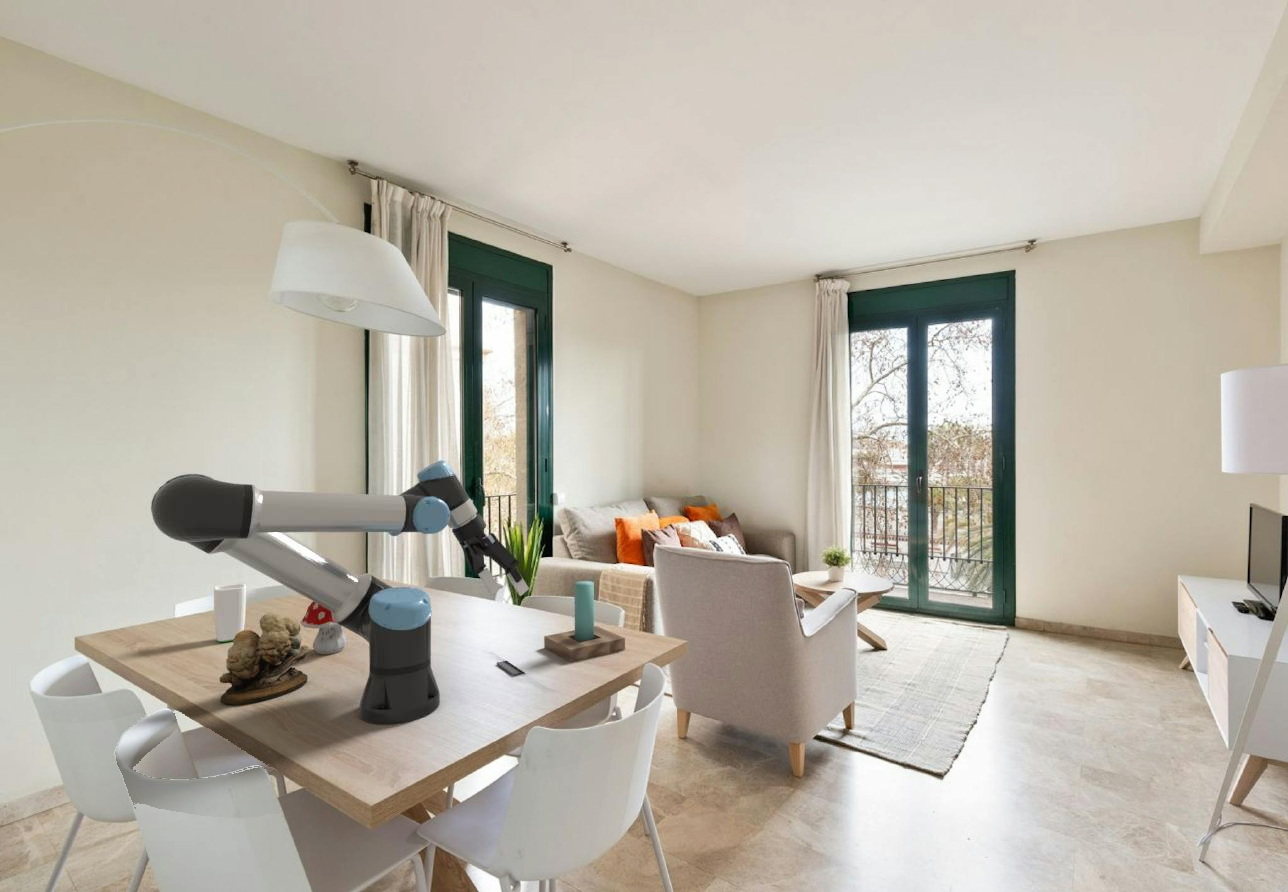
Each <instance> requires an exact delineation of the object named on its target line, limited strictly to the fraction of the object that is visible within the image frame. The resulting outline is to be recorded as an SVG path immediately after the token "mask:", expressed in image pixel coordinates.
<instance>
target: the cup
mask: <svg viewBox="0 0 1288 892" xmlns="http://www.w3.org/2000/svg"><path fill="white" fill-rule="evenodd" d="M246 607H247V585H246V584H245V583H232V584H222V585H215V586H214V587H213V612H214V613H213V615H214V618H213V619H214V626H215V627H214V628H215V634H216V635H215V636H216V639H217V642H219V643H227V642H233V640H234V637H235V635H236V634H237V633H239V632H241V631H243V630H245V622H246V612H247V611H246Z"/></svg>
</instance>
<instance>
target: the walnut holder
mask: <svg viewBox="0 0 1288 892" xmlns="http://www.w3.org/2000/svg"><path fill="white" fill-rule="evenodd" d="M543 639H544V642H543V645H544V649H546V650H547V651H549V652H551V653H553V654H555V655H557V656H559V657H560V658H562V659H564V660H566V661H568V662H570V663H573V662H578V661H583V660H587V659H591V658H595V657H600V656H604V655H608V654H613V653H617V652H621V651H624V650H626V638H625V637H624V636H623V635H622V636H621V635H619V634H616V633H614V632H612V631H609V630H608V629H605V628H602V627H600V626H598V625H594V640H589V641H584V642H578V641H576V640H575V629H574V630H569V631H564V632H558V633H555V634H549V635H544V637H543Z"/></svg>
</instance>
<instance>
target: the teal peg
mask: <svg viewBox="0 0 1288 892" xmlns="http://www.w3.org/2000/svg"><path fill="white" fill-rule="evenodd" d="M594 586H595V582H593V581H590V580H589V581H587V580H583V581H581V580H580V581H575V582H574V630H575V640H576V641H578V642H584V641H589V640H594V626H595V587H594Z"/></svg>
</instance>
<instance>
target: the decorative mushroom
mask: <svg viewBox="0 0 1288 892" xmlns="http://www.w3.org/2000/svg"><path fill="white" fill-rule="evenodd" d="M299 624H300V626H302V627H303V628H306V629H318V632H317V635H316V636H315V638H314V640H313V643H312V649H313V650H314V651H315V652H316V653H317V654H319V655H330V654H337V653H340V652H341V651H343V650H344V649H345V647H346V646H347V644H348V639H347V636H346V634H345V633H344V631H343V628H342V626H341V625H339V624H338V623H336V622H334V621H333V618H332V612H331V611H330V610H328V609H327V608H325V607H323V606H321V605H319V604H317V603H316V602H314V601H312V602H311V603H310V604H309V605H308V607H307V609H306V612H305V615H304V617H303V618H302V619H301V620H300V622H299Z"/></svg>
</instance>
